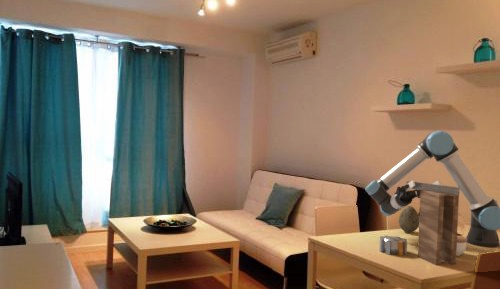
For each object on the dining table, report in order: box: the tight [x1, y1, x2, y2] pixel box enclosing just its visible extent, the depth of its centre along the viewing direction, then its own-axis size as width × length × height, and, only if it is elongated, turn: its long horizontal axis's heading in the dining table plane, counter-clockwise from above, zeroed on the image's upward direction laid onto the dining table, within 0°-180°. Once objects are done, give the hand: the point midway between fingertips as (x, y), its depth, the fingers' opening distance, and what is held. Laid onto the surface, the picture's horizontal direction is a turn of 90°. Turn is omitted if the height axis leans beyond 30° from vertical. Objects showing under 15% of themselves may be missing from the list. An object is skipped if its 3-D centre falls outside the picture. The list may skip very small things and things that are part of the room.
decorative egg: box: [398, 205, 419, 234], centre depth 238 cm, size 11×11×15 cm
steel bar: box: [405, 180, 461, 196], centre depth 188 cm, size 3×24×3 cm, turn 33°
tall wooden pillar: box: [417, 190, 460, 266], centre depth 185 cm, size 10×12×30 cm
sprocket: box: [379, 235, 408, 256], centre depth 197 cm, size 12×12×6 cm
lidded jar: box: [456, 235, 468, 257], centre depth 196 cm, size 11×11×9 cm
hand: (426, 182), depth 192 cm, fingers open, 13 cm apart
